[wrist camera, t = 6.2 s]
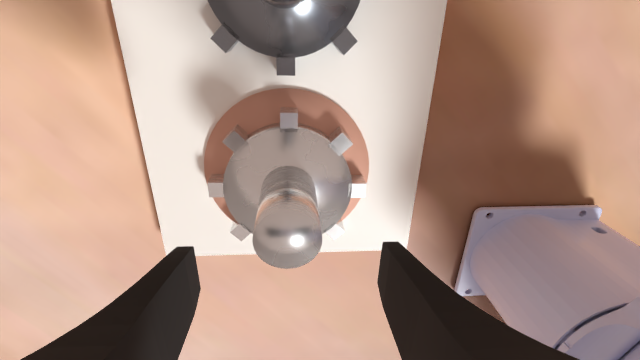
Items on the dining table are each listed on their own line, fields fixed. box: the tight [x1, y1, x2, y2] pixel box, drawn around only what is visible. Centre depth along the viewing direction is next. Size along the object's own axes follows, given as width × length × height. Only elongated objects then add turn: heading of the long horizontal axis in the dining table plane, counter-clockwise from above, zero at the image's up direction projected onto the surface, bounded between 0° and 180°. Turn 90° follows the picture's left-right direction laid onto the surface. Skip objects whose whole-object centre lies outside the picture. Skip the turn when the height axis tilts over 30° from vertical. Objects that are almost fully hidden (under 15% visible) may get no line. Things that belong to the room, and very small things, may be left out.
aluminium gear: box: [208, 107, 366, 269], centre depth 17 cm, size 9×9×6 cm
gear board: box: [111, 0, 447, 256], centre depth 18 cm, size 16×21×2 cm
